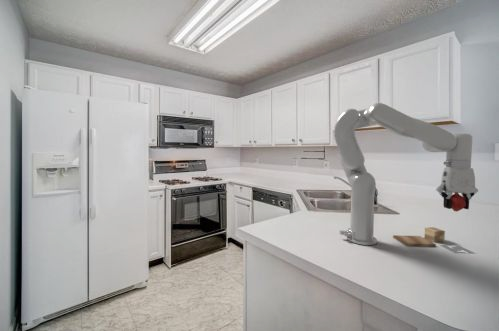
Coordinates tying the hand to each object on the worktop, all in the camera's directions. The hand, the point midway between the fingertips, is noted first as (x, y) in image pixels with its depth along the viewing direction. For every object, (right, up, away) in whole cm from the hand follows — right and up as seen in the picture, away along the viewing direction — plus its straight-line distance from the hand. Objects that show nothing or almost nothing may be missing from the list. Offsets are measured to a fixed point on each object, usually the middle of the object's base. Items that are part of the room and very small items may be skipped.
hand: (455, 207), depth 94 cm
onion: (0, -2, 0) cm, 2 cm away
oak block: (0, -17, +10) cm, 20 cm away
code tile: (+1, -17, 0) cm, 17 cm away
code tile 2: (0, -17, +10) cm, 20 cm away
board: (-12, -17, +8) cm, 22 cm away
